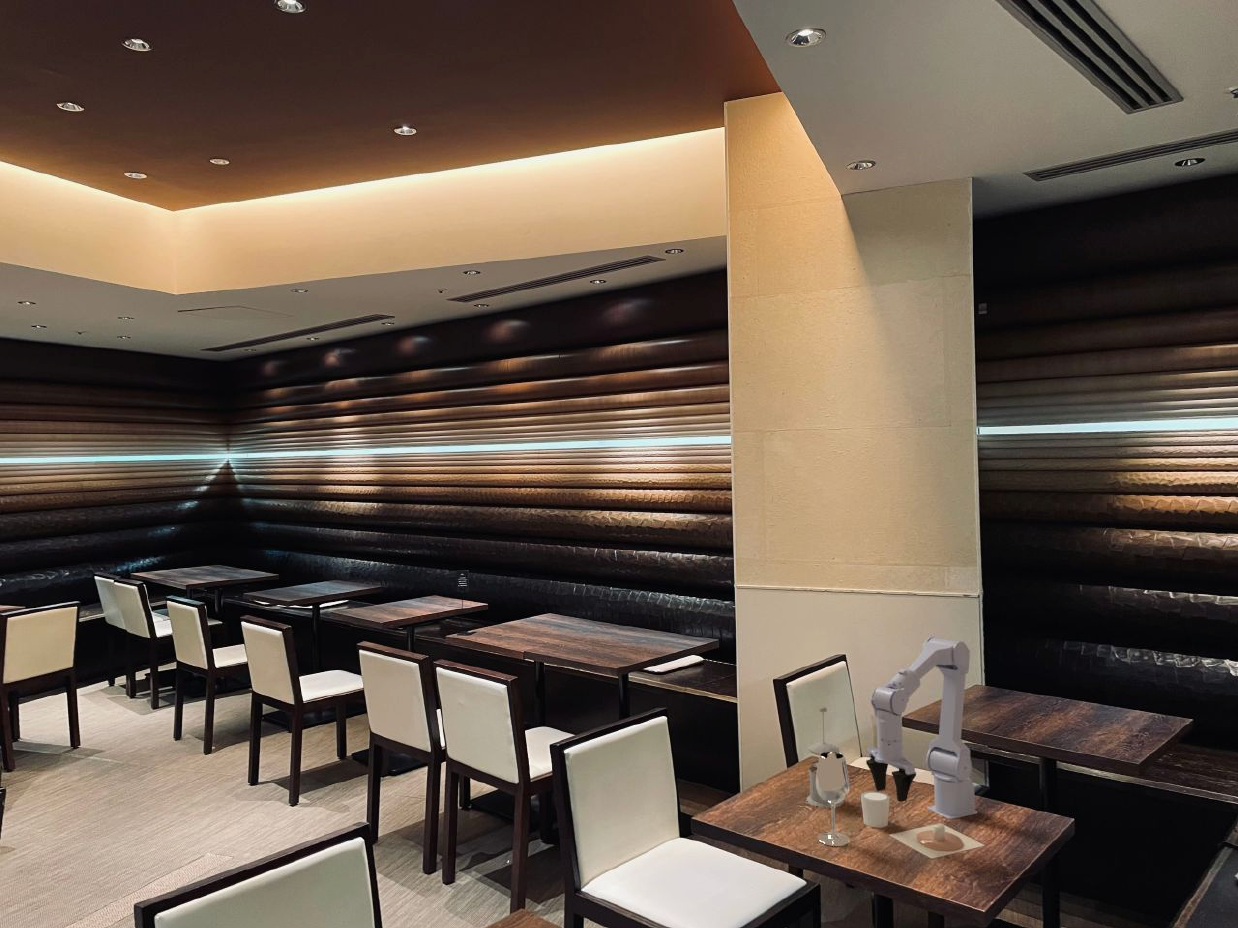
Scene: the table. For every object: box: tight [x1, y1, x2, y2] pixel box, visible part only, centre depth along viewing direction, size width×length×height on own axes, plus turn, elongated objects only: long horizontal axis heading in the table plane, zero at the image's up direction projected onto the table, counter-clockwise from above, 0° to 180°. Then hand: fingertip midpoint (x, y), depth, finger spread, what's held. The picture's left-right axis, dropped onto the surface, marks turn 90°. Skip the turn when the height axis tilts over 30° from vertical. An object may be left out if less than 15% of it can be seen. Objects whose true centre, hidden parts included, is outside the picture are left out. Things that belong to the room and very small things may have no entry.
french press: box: [806, 706, 847, 809], centre depth 225 cm, size 10×12×25 cm
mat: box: [888, 823, 986, 860], centre depth 198 cm, size 16×14×1 cm
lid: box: [917, 823, 962, 851], centre depth 197 cm, size 10×10×4 cm
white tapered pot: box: [860, 791, 890, 828], centre depth 208 cm, size 7×7×7 cm
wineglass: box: [815, 752, 851, 847], centre depth 200 cm, size 8×8×20 cm
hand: (891, 795), depth 202 cm, fingers open, 7 cm apart
